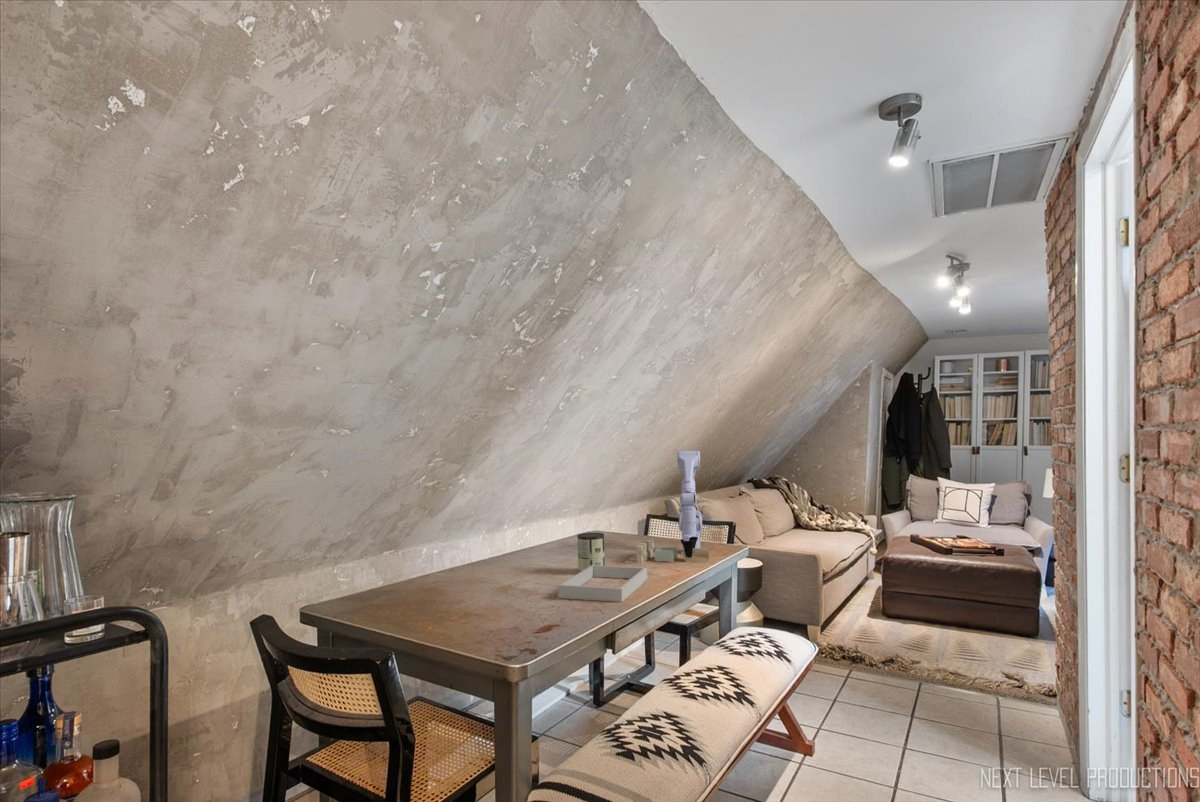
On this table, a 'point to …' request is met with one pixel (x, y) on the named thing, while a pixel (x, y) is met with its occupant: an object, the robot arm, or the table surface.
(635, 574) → the gray rectangular frame
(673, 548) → the block
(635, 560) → the wall
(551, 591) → the table surface
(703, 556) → the peg
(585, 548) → the coffee can
